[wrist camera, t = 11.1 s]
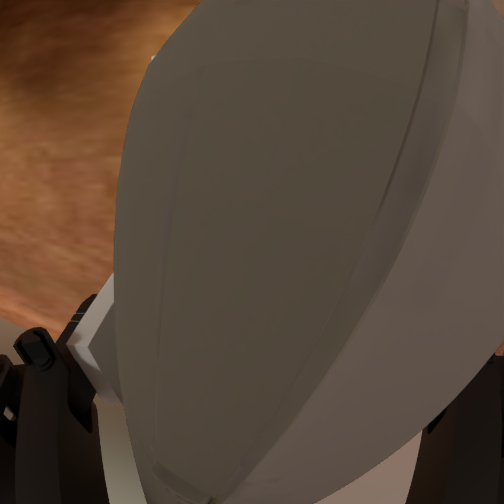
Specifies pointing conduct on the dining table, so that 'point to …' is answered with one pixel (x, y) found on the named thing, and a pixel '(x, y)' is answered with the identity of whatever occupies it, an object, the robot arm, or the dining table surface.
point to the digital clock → (306, 240)
